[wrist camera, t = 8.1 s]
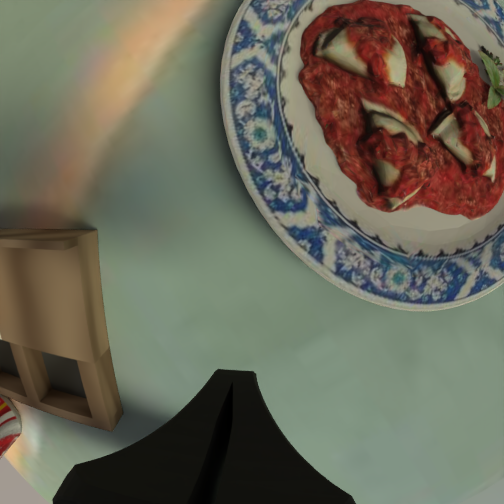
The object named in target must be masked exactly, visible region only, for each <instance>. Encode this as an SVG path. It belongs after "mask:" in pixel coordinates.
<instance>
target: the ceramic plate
mask: <svg viewBox="0 0 504 504" xmlns="http://www.w3.org/2000/svg"><path fill="white" fill-rule="evenodd" d="M220 97H221V107H222V115H223V122H224V126H225V131H226V135H227V139H228V143H229V146H230V149H231V152H232V155H233V158H234V161H235V164H236V166H237V169H238V171H239V173H240V175H241V177H242V180H243V182H244V184H245V186H246V188H247V190H248V192H249V194H250V195H251V197H252V199H253V200H254V202H255V204H256V206H257V207H258V209H259V211H260V212H261V214H262V215H263V216H264V218H265V219H266V220H267V222H268V223H269V225H270V226H271V227H272V229H273V230H274V231H275V233H276V234H277V235H278V236H279V237H280V238H281V239H282V241H283V242H284V243H285V244H286V245H287V246H288V248H289V249H290V250H292V251H293V252H294V253H295V254H296V255H297V256H298V257H299V258H300V259H301V260H302V261H303V262H304V263H305V264H306V265H308V266H309V267H310V268H311V269H313V270H314V271H315V272H317V273H318V274H319V275H320V276H322V277H323V278H324V279H326V280H328V281H329V282H331V283H332V284H334V285H336V286H337V287H339V288H340V289H342V290H344V291H346V292H348V293H350V294H352V295H354V296H356V297H358V298H361V299H363V300H366V301H369V302H372V303H374V304H377V305H381V306H385V307H389V308H393V309H400V310H408V311H435V310H444V309H449V308H453V307H457V306H461V305H464V304H466V303H469V302H472V301H475V300H477V299H479V298H481V297H483V296H485V295H486V294H488V293H490V292H491V291H493V290H494V289H496V288H497V287H499V286H500V285H502V284H503V283H504V8H503V7H502V6H501V5H500V4H499V3H498V2H497V0H244V1H243V3H242V4H241V6H240V7H239V9H238V11H237V13H236V15H235V17H234V19H233V21H232V24H231V27H230V30H229V33H228V35H227V38H226V43H225V47H224V52H223V57H222V63H221V74H220Z"/></svg>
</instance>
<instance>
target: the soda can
mask: <svg viewBox="0 0 504 504" xmlns="http://www.w3.org/2000/svg"><path fill="white" fill-rule="evenodd" d="M21 432H22V424H21V418H20V415H19V413H18V411H17V410H16V408H15V406H14V405H13V404H12V402H11V401H10V400H9V399H8V398H7V396H4V395H2V394H0V459H1V457H2V456H3V455H4V454H5V453H6V451H7V450H8V449H9V448H10V446H11V445H12V444H13V443H14V442H15V440H16V439H17V438H18V437H19V436H20V434H21Z"/></svg>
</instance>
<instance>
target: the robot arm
mask: <svg viewBox="0 0 504 504" xmlns="http://www.w3.org/2000/svg"><path fill="white" fill-rule="evenodd" d="M53 504H356V503H355V501H354V499H353V498H352V496H351V495H349V494H348V493H346V492H345V491H343V490H342V489H340V488H339V487H337V486H336V485H334V484H333V483H331V482H330V481H329V480H327V479H326V478H325V477H324V476H322V475H321V474H320V473H319V472H318V471H316V470H315V469H314V468H313V467H312V466H311V465H310V464H309V463H308V462H307V461H306V460H305V459H304V458H303V457H302V456H301V455H300V454H299V453H298V452H297V451H296V449H295V448H294V447H293V446H292V445H291V444H290V442H289V441H288V440H287V438H286V437H285V436H284V434H283V433H282V431H281V430H280V429H279V427H278V425H277V424H276V422H275V420H274V419H273V417H272V415H271V414H270V412H269V410H268V408H267V406H266V403H265V401H264V399H263V397H262V394H261V392H260V389H259V386H258V382H257V378H256V374H255V373H254V372H253V371H238V370H223V369H218V370H216V371H215V372H214V374H213V375H212V376H211V378H210V379H209V380H208V382H207V383H206V384H205V385H204V387H203V388H202V389H201V390H200V391H199V392H198V394H197V395H196V396H195V397H194V398H193V399H192V400H191V401H190V402H189V403H188V404H187V405H186V406H185V407H184V408H183V409H182V410H181V411H180V412H179V413H178V414H176V415H175V416H174V417H173V418H172V419H171V420H169V421H168V422H167V423H166V424H164V425H163V426H161V427H160V428H159V429H157V430H156V431H154V432H153V433H151V434H150V435H148V436H146V437H145V438H143V439H141V440H140V441H138V442H136V443H134V444H132V445H130V446H128V447H126V448H124V449H122V450H119V451H117V452H115V453H112V454H110V455H107V456H104V457H101V458H98V459H94V460H91V461H88V462H84V463H80V464H76V465H75V466H74V467H73V468H72V470H71V471H70V472H69V473H68V474H67V476H66V478H65V479H64V481H63V482H62V484H61V486H60V487H59V489H58V491H57V493H56V494H55V496H54V498H53Z"/></svg>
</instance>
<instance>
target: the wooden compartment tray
mask: <svg viewBox="0 0 504 504" xmlns="http://www.w3.org/2000/svg"><path fill="white" fill-rule="evenodd" d="M0 394H2V395H4V396H7V397H9V398H11V399H14V400H16V401H19V402H21V403H23V404H26V405H29V406H31V407H34V408H36V409H39V410H42V411H45V412H47V413H50V414H53V415H56V416H59V417H62V418H65V419H68V420H71V421H75V422H78V423H81V424H85V425H88V426H92V427H95V428H99V429H103V430H107V431H111V432H113V430H114V428H115V427H116V425H117V423H118V421H119V420H120V418H121V416H122V414H123V410H122V406H121V402H120V397H119V393H118V388H117V384H116V379H115V374H114V369H113V364H112V358H111V353H110V347H109V341H108V334H107V328H106V321H105V313H104V306H103V297H102V288H101V278H100V266H99V253H98V235H97V230H67V229H0Z"/></svg>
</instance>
